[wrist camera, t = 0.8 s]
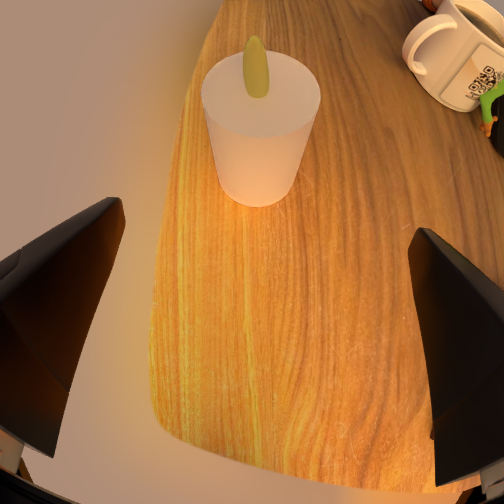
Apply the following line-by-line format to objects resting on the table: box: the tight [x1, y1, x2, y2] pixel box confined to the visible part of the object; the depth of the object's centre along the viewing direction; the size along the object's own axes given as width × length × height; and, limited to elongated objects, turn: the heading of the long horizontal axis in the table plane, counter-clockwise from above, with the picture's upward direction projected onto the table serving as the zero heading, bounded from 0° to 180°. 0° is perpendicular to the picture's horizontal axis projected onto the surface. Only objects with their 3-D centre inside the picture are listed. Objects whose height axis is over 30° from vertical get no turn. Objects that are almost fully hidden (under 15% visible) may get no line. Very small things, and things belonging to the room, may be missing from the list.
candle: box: [201, 35, 321, 207], centre depth 18 cm, size 6×6×15 cm
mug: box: [402, 0, 504, 112], centre depth 23 cm, size 10×12×11 cm
